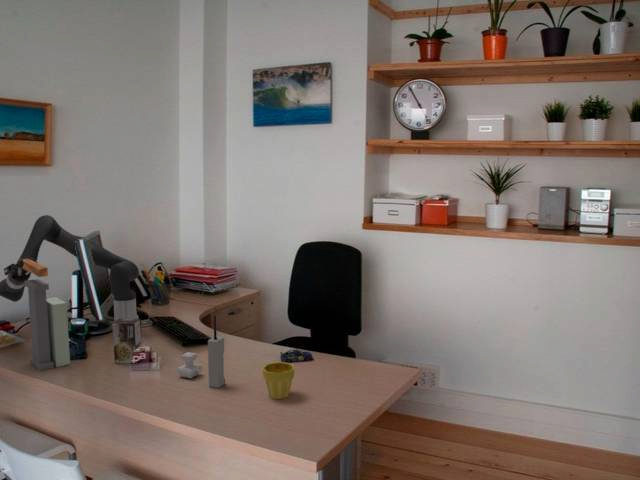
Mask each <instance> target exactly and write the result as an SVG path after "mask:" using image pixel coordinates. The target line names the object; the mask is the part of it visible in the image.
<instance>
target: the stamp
mask: <svg viewBox="0 0 640 480" xmlns="http://www.w3.org/2000/svg"><path fill="white" fill-rule="evenodd" d="M197 357H198V354H197V353H195V352H189V351H187V352H185V353H184V354H182V355H181V354H180V359H181V361H183V362H185V364H182V365H180V366H178V367H177V368H176V373H177V374H178V375H179V376H180V377H181V378H182V377H183V378H188V379H192V378H194V377H196V376H199V374H200V373H201V371H202V370H203V365H201V364H198V363H194V361H195V360H197Z"/></svg>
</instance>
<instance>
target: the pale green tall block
mask: <svg viewBox="0 0 640 480" xmlns="http://www.w3.org/2000/svg"><path fill="white" fill-rule="evenodd" d="M46 300H47V316H48V332H49V347H50V360H51V361H52V362H53V363H54V367H56V368H59V367H63V366H67V365H71V358H70V356H71V355H70V354H71V353H70V342H69V341H70V340H69V337H70V336H69V322H68V321H69V320H68V305H67V303H68V302H66V301H65V300H63V299H60V298H58V297H57V296H55V297H48V298H47V297H46Z"/></svg>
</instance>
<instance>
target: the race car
mask: <svg viewBox="0 0 640 480" xmlns="http://www.w3.org/2000/svg"><path fill="white" fill-rule="evenodd" d="M279 358H280V362H285V363H289V364H292V363H298V362H309V361H312V360H313V359H314V358H313V354H312V353H311V352H309V351H301V350H299V349H289V350H287V351H286V352H283V351H280V357H279ZM314 360H315V361H318V360H317V358H315V359H314Z"/></svg>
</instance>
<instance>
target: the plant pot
mask: <svg viewBox="0 0 640 480" xmlns="http://www.w3.org/2000/svg"><path fill="white" fill-rule="evenodd" d="M262 377H263V379H264V380H265V384H266V389H267V393H268V397H270V398H272V399H274V400H282V399H287V398H288V397H289V396H290V395H289V394H290V392H291V387H292V382H293V379H294V378H295V365H293V364H292V363H286V362H282V361H276V362H275V361H274V362H270V363H267V364H265V365H264V366H263V367H262Z"/></svg>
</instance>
